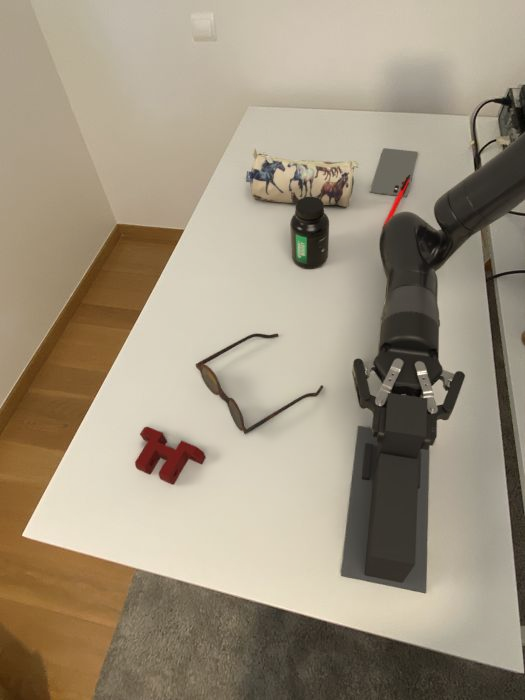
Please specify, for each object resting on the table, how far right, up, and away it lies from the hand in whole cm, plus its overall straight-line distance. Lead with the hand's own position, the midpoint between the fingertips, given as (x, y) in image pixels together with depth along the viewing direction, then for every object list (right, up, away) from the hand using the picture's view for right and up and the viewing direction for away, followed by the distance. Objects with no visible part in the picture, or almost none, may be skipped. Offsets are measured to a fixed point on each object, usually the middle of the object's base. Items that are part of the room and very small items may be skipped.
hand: (402, 442), depth 57 cm
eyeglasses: (-16, +5, +21) cm, 27 cm away
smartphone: (+12, +49, +50) cm, 71 cm away
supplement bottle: (-7, +28, +37) cm, 47 cm away
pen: (+11, +40, +43) cm, 60 cm away
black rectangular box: (+1, -2, +7) cm, 7 cm away
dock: (0, -9, +8) cm, 13 cm away
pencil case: (-8, +42, +47) cm, 64 cm away
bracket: (-30, -6, +15) cm, 34 cm away
